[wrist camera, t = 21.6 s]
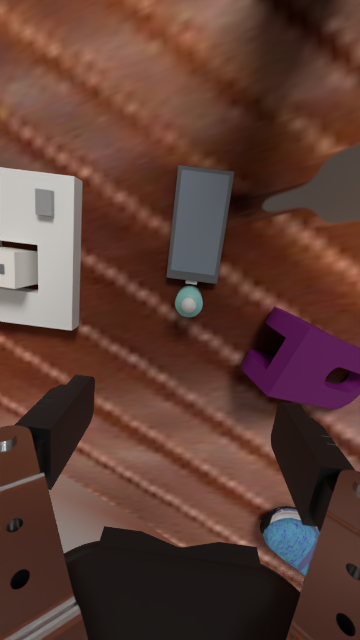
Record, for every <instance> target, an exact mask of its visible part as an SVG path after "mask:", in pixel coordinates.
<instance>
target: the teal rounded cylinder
mask: <svg viewBox="0 0 360 640" xmlns="http://www.w3.org/2000/svg"><path fill="white" fill-rule="evenodd" d="M202 306H203V301H202V296H201V292H200V291H199V289H198V288H197V287H195V286H193V285H186V286H184V287H182V288H181V289H180V290H179V292H178V294H177V297H176V300H175V307H176V310H177V311H178V313H179V314H180V315H182V316H184V317H194V316H196V315H197V314H198V313H199V312H200V311H201V309H202Z"/></svg>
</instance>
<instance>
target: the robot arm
mask: <svg viewBox="0 0 360 640" xmlns="http://www.w3.org/2000/svg"><path fill="white" fill-rule="evenodd" d="M94 390H95V379H94V377H89V376H82V375H75V376H74V377H73V378H72V379H71V380H70V381H69V382H68V384H67V385H59V386H57V387H55V388H53V389H51V390H49V391H48V392H47V393H46V394H45V395H44V396H43V397H42V399H40V400H39V401H38V402H37V403H36V405H34V406H33V407H32V408H31V409H30V410H29V411H28V412H27V413H26V414H25V415H24V416H23V417H22V418H21V419H20V420H19V421H18V422H17V423H16V424H15V425H12V426H5V427H1V428H0V640H360V472H359V471H355V469H354V468H353V467H352V465H351V464H350V463H349V461H348V460H347V458H346V457H345V456H344V454H343V453H342V452H341V450H340V449H339V448H338V446H336V444H335V442H334V441H333V440H332V438H330V435H329V434H328V433H327V431H326V430H325V429H324V427H323V426H322V425H320V424H319V423H318V422H316V421H315V420H314V419H313V418H309V417H308V416H307V414H306V413H305V411H304V410H303V408H302V407H301V406H300V405H299V404H293V403H285V402H280V403H279V405H278V408H277V412H276V416H275V420H274V425H273V429H272V433H271V446H272V449H273V452H274V454H275V457H276V459H277V462H278V464H279V467H280V469H281V472H282V474H283V477H284V479H285V482H286V484H287V487H288V489H289V492H290V494H291V497H292V499H293V502H294V504H295V506H296V509H297V511H298V514H299V516H300V519H301V521H302V524H303V525H306V526H314V527H317V528H318V530H319V532H320V533H319V536H318V539H317V542H316V545H315V548H314V551H313V554H312V557H311V560H310V563H309V566H308V569H307V572H306V575H305V579H304V582H303V585H302V588H301V591H300V592H299V591H298V590H297V589H296V588H295V587H294V586H293V585H292V584H291V583H290V582H288V581H287V580H286V579H285V578H284V577H282V576H281V575H280V574H278V573H277V572H275V571H274V570H272V569H270V568H268V567H267V566H265V565H263V564H260V561H259V556H258V552H257V547H251V546H244V545H237V544H229V543H222V542H216V543H210V544H203V545H196V546H190V547H182V548H181V547H176V546H174V545H171V544H169V543H166V542H165V541H162V540H160V539H158V538H155V537H153V536H151V535H148V534H146V533H144V532H141V531H134V530H127V529H120V528H112V527H104V529H103V532H102V536H101V538H100V541H95V542H91V543H87V544H84V545H81V546H79V547H76V548H74V549H72V550H70V551H68V552H66V553H65V554H64V553H63V550H62V545H61V541H60V536H59V533H58V528H57V524H56V520H55V516H54V512H53V507H52V503H51V499H50V495H49V491H48V489H49V490H51V489H52V487H53V486H54V484H55V482H56V481H57V478H58V477H59V475H60V474H61V472H62V470H63V469H64V467H65V465H66V463H67V462H68V460H69V458H70V457H71V455H72V453H73V452H74V450H75V448H76V446H77V445H78V443H79V441H80V440H81V438H82V436H83V435H84V433H85V431H86V429H87V428H88V426H89V424H90V422H91V419H92V416H93V410H94Z"/></svg>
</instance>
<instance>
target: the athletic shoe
mask: <svg viewBox="0 0 360 640" xmlns="http://www.w3.org/2000/svg"><path fill="white" fill-rule="evenodd" d="M260 530H261V532H262V534H263V537H264V541H265V542H266V544H267V545H268V547H269V548H270V549H271V550H272V551H274V552H275V553H276V554H277V555H279V556H280V557H281V558H282V559H284V560H285V561H286V562H287V563H289V564H290V565H291V566H292V567H294V568H295V569H296V570H297V571H299V572H300V573H302V574H303V575H304V576H305V575H306V572H307V569H308V566H309V563H310V560H311V557H312V554H313V551H314V548H315V545H316V542H317V539H318V536H319V533H320V532H319V530H318V528H317V527H314V526H306V525H303V524H302V521H301V519H300V516H299V514H298V511H297V509H296V508H295V507H294V508H293V507H290V506H289V507H287V506H285V507H281V508H277V509H275V510H273V511H272V512H270V513H269V514H268V515H266V516H265V517H264V518H263V519H262V522H261V525H260Z"/></svg>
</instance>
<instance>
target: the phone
mask: <svg viewBox="0 0 360 640" xmlns="http://www.w3.org/2000/svg"><path fill="white" fill-rule="evenodd" d="M233 177H234V172H232V171H224V170H216V169H207V168H199V167H191V166H183V165H178V174H177V183H176V193H175V202H174V211H173V221H172V230H171V239H170V249H169V258H168V268H167V278H175V279H183V280H186V283H187V284H195V285H197V281H198V282H206V283H214V284H217V280H218V274H219V267H220V261H221V254H222V248H223V241H224V235H225V229H226V222H227V216H228V209H229V203H230V197H231V190H232V184H233Z"/></svg>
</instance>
